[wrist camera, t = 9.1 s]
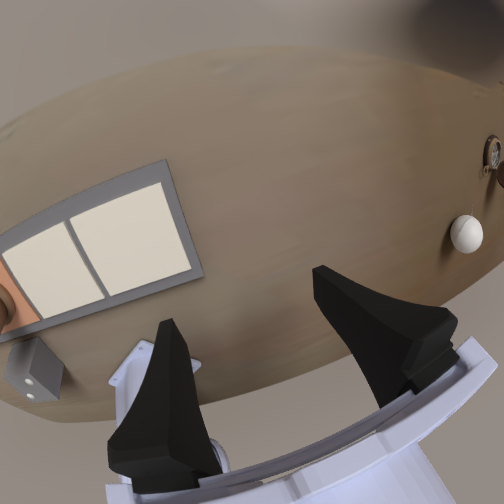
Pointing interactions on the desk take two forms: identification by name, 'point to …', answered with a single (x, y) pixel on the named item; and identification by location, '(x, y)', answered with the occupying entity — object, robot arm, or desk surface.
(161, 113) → the desk surface
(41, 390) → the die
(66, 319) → the board
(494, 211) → the desk surface
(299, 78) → the desk surface
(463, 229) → the seamed sphere
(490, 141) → the compass
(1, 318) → the pawn
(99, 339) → the desk surface
